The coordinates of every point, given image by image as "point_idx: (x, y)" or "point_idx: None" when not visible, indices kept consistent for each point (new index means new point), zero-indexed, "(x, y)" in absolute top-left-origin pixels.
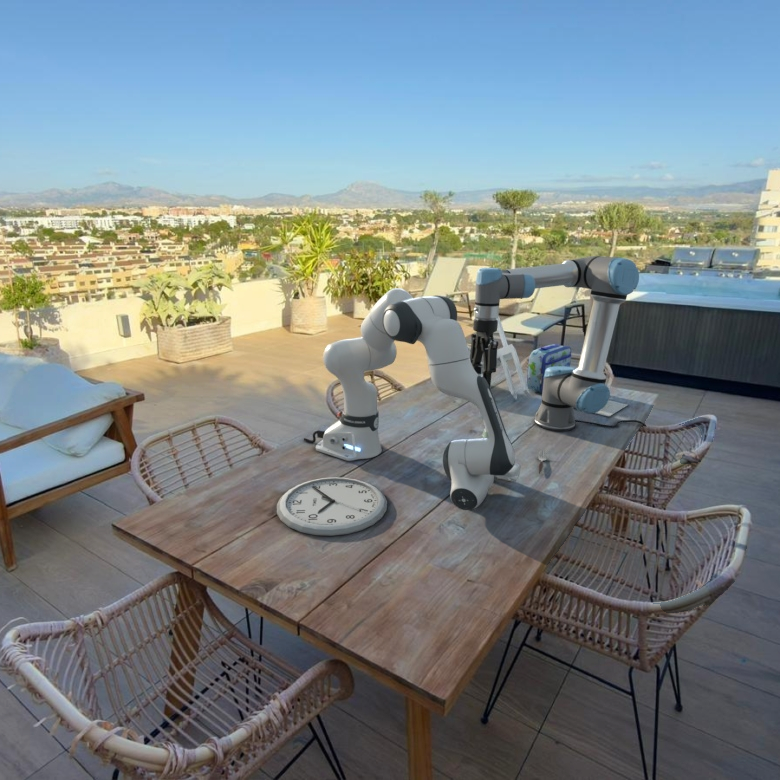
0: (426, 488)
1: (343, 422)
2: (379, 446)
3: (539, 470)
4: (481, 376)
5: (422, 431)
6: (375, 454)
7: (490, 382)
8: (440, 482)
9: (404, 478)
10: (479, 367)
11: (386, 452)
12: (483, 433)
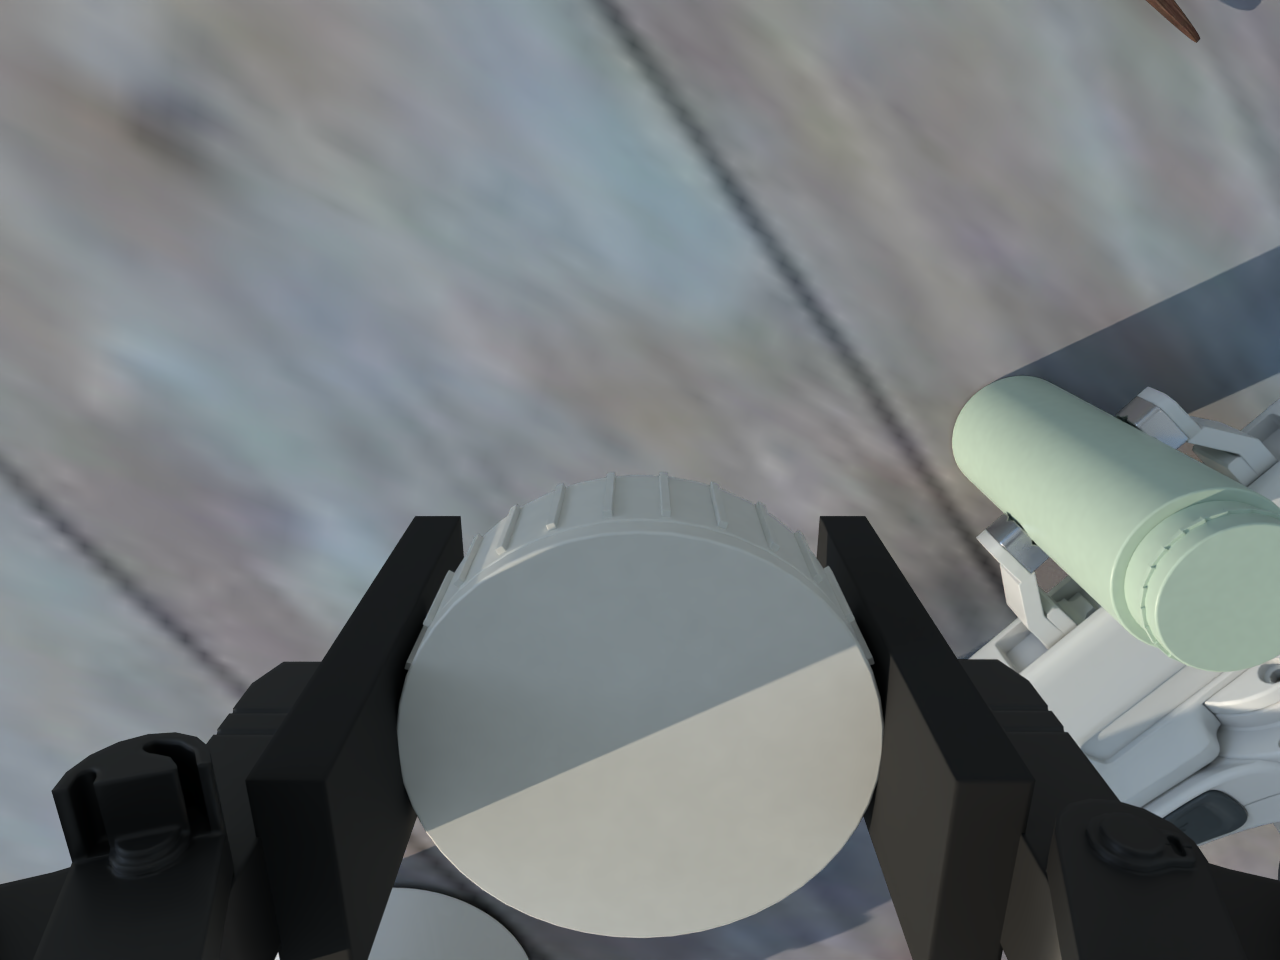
0: None
1: None
2: (456, 942)
3: (1170, 10)
4: (664, 766)
5: (130, 553)
6: (513, 948)
7: (1007, 668)
8: None
9: (832, 880)
10: (334, 837)
11: None
12: (1126, 623)
